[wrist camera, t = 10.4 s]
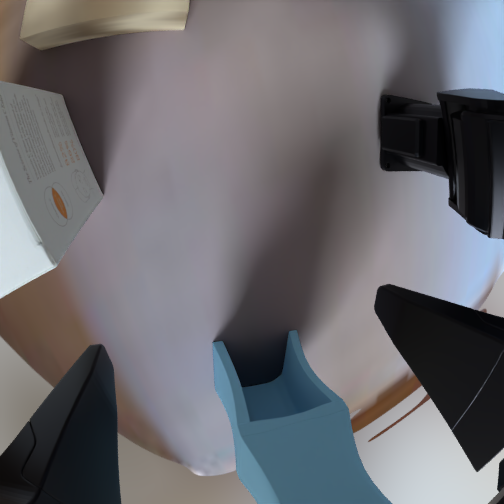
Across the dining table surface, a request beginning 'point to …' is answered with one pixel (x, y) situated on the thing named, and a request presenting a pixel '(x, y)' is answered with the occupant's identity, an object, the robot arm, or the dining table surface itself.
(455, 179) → the robot arm
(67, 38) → the cream square block
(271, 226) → the dining table surface
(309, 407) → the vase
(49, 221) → the small box
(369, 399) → the dining table surface
